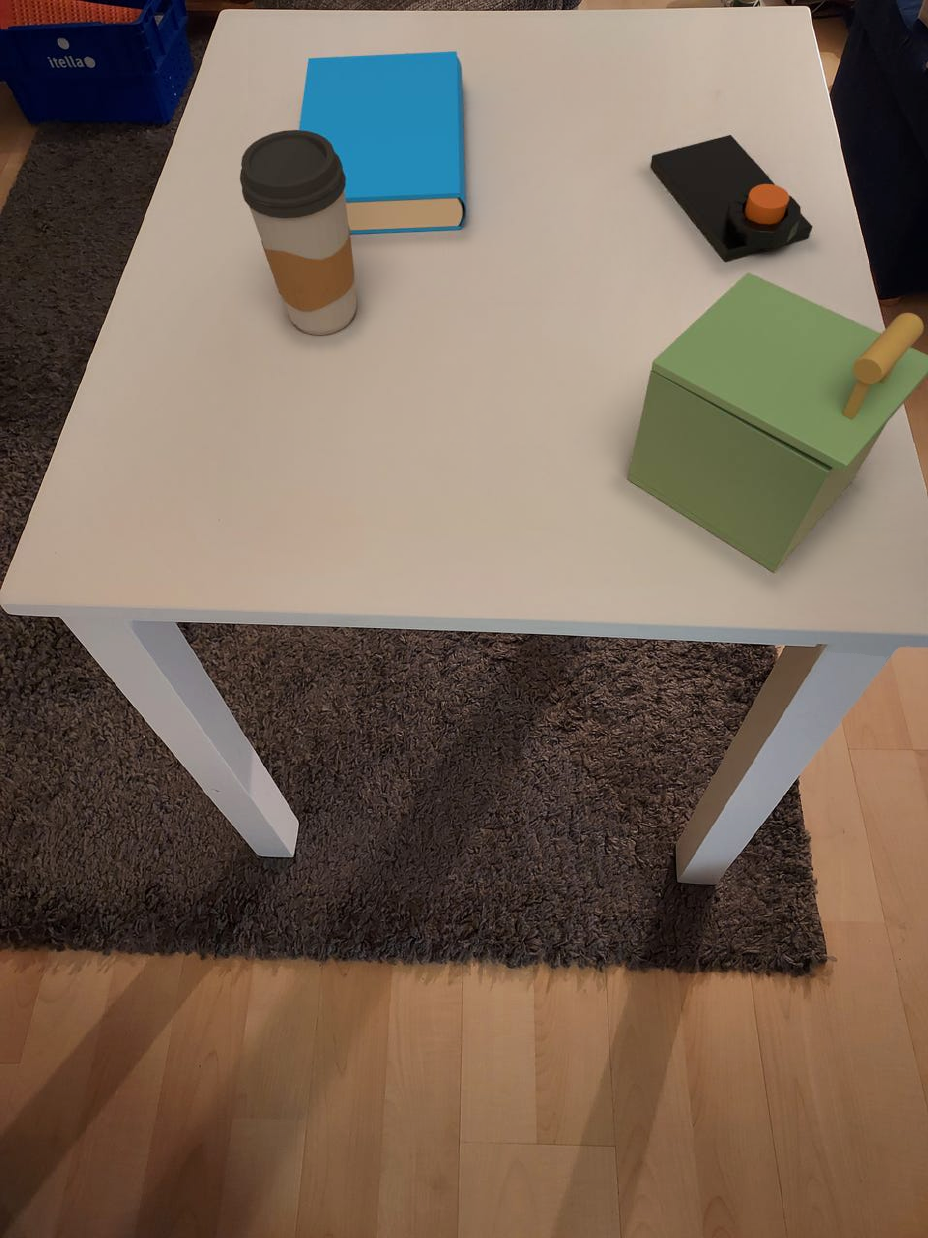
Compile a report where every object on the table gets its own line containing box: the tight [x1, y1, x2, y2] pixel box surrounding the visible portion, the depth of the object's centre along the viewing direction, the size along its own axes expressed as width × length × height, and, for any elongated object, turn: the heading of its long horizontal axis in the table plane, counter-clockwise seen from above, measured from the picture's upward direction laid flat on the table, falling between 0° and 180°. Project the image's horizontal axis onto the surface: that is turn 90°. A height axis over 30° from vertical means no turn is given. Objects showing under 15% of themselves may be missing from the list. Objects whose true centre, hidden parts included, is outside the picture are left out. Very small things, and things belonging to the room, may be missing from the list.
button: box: [745, 184, 790, 224], centre depth 78 cm, size 4×4×2 cm
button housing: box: [649, 134, 814, 263], centre depth 82 cm, size 17×9×3 cm, turn 20°
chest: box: [627, 369, 888, 573], centre depth 62 cm, size 14×12×12 cm
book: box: [298, 50, 467, 235], centre depth 88 cm, size 17×4×25 cm
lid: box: [651, 272, 928, 473], centre depth 54 cm, size 14×12×6 cm
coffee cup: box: [239, 129, 357, 336], centre depth 72 cm, size 8×8×15 cm
